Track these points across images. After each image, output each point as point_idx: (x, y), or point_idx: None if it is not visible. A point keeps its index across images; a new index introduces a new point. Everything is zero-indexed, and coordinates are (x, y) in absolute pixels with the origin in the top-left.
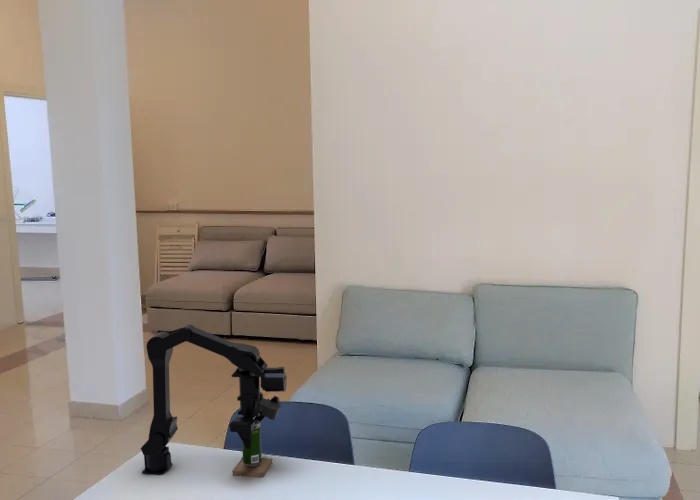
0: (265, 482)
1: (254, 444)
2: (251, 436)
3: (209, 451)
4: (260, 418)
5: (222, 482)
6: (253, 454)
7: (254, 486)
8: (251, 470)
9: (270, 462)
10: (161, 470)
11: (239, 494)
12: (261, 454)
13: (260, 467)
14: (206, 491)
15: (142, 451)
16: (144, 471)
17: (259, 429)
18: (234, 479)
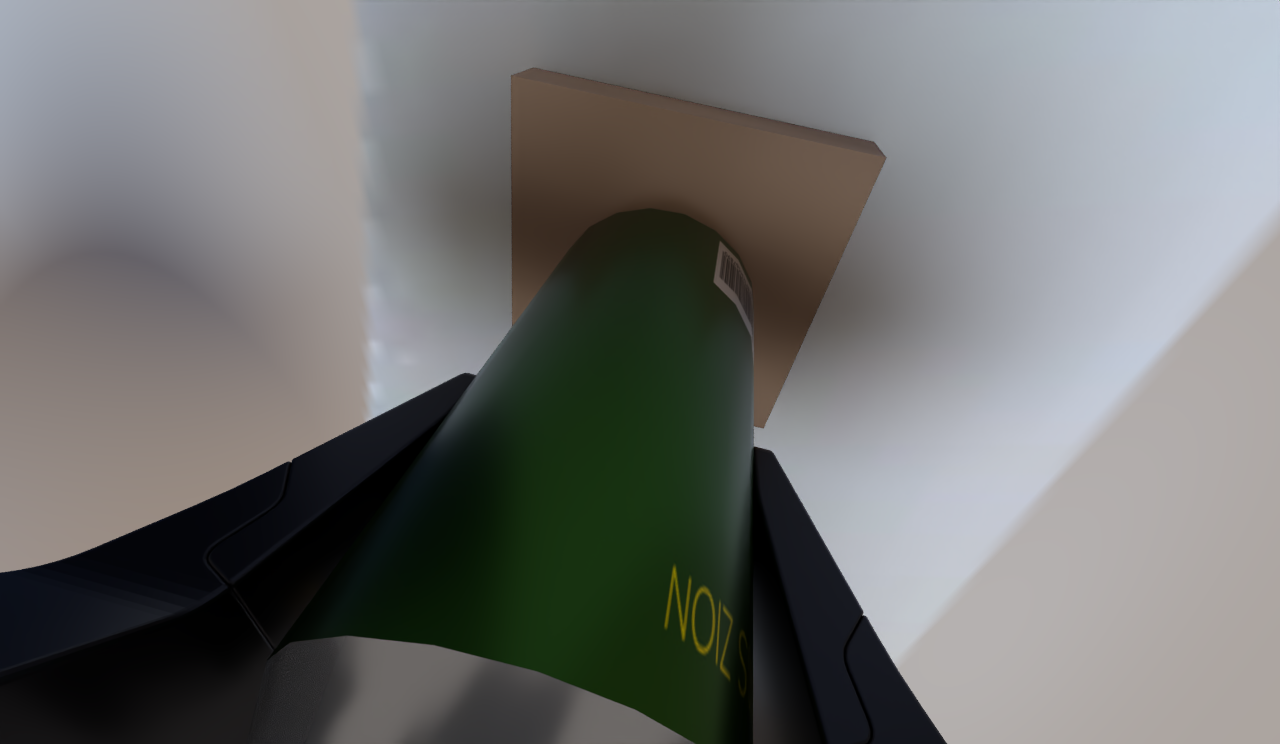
0: (1021, 104)
1: (745, 431)
2: (829, 639)
3: None
4: (31, 738)
5: (859, 453)
6: (750, 350)
7: (1064, 223)
8: (798, 288)
9: (592, 89)
10: None
11: (1168, 345)
12: (640, 235)
13: (742, 201)
14: (965, 526)
15: None
16: None
17: (586, 591)
18: (833, 387)
